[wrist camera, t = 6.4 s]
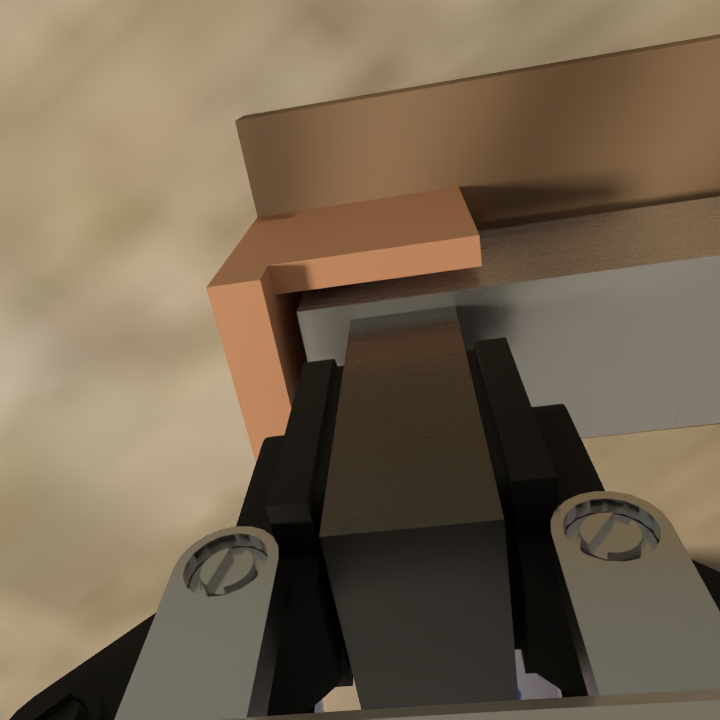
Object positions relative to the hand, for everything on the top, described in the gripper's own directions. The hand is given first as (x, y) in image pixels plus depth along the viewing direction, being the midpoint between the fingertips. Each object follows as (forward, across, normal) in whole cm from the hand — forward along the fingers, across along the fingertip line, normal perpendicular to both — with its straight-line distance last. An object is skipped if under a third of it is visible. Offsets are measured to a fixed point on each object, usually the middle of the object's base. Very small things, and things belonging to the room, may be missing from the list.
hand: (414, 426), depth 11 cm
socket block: (+6, +1, 0) cm, 6 cm away
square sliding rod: (+5, -6, 0) cm, 8 cm away
